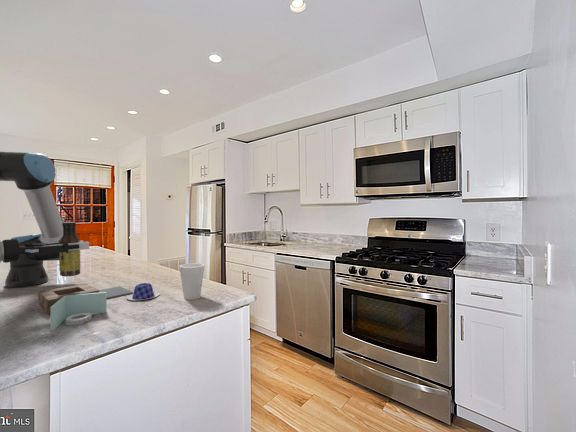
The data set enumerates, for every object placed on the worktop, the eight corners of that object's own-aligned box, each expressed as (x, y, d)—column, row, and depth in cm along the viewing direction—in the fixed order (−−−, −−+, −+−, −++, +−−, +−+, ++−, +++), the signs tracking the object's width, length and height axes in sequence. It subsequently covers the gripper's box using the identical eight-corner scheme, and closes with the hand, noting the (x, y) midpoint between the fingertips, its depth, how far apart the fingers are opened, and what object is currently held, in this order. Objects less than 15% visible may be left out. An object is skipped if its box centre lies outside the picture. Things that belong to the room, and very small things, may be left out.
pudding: (138, 292, 122) (137, 280, 122) (165, 293, 121) (165, 281, 121) (119, 301, 110) (119, 288, 110) (149, 302, 110) (149, 289, 109)
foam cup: (196, 301, 109) (196, 268, 109) (175, 300, 111) (174, 267, 111) (208, 294, 119) (208, 263, 118) (188, 293, 121) (188, 262, 120)
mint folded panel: (50, 332, 84) (50, 307, 83) (64, 318, 95) (64, 295, 94) (98, 326, 88) (98, 302, 88) (106, 313, 99) (106, 291, 99)
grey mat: (88, 293, 120) (88, 292, 120) (119, 287, 129) (119, 286, 129) (100, 300, 111) (100, 298, 111) (132, 293, 120) (132, 291, 120)
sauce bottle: (59, 274, 107) (58, 222, 107) (80, 272, 111) (79, 221, 110) (59, 278, 102) (58, 222, 102) (80, 275, 106) (79, 222, 105)
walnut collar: (38, 305, 105) (38, 291, 105) (86, 295, 117) (86, 283, 117) (48, 314, 96) (48, 300, 96) (99, 303, 107) (99, 290, 107)
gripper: (-2, 259, 98) (78, 251, 116) (6, 266, 86) (94, 256, 104) (-3, 237, 98) (78, 233, 116) (5, 242, 86) (94, 236, 104)
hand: (85, 244), depth 110 cm, fingers closed on sauce bottle, 6 cm apart
